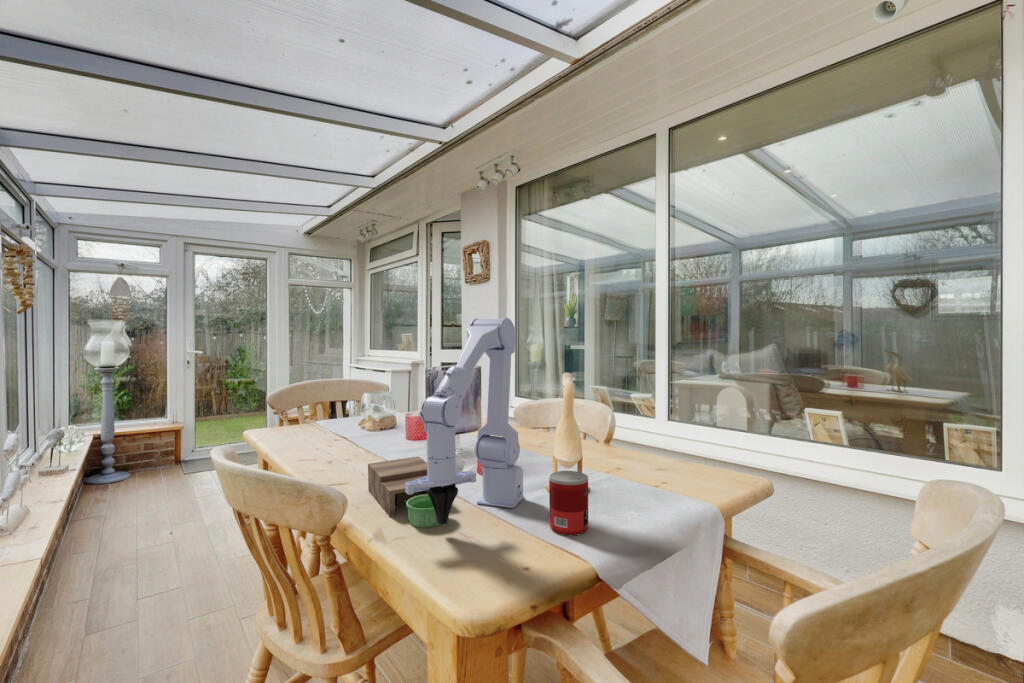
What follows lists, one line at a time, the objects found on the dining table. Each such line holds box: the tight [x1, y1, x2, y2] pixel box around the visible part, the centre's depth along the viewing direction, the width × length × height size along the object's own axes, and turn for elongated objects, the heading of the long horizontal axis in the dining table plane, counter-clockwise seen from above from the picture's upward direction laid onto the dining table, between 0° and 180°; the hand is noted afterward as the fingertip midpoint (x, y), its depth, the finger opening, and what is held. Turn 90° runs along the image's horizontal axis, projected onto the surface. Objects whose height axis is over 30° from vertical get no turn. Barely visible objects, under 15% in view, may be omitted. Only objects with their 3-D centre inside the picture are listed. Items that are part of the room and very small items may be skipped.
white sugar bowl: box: [456, 451, 466, 472], centre depth 135 cm, size 6×6×7 cm
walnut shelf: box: [367, 456, 428, 518], centre depth 118 cm, size 20×13×7 cm
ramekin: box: [405, 494, 441, 529], centre depth 104 cm, size 9×9×4 cm
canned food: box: [548, 470, 589, 536], centre depth 99 cm, size 8×8×11 cm
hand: (442, 522), depth 96 cm, fingers closed
